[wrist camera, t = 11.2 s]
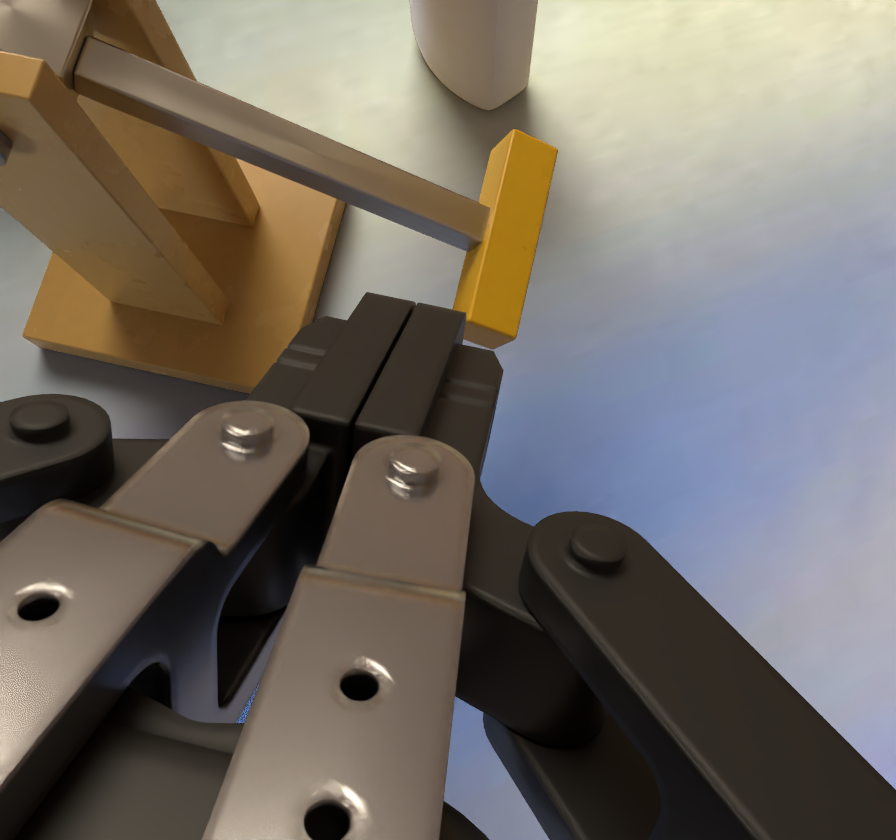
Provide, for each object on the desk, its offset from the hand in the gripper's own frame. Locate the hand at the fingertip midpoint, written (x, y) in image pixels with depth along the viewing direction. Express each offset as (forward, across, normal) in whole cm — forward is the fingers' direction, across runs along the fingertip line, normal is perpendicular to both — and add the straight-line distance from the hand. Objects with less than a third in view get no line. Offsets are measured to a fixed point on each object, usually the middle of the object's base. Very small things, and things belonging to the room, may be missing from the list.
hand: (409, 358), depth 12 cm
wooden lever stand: (+17, +11, +8) cm, 22 cm away
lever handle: (+11, +6, +1) cm, 12 cm away
